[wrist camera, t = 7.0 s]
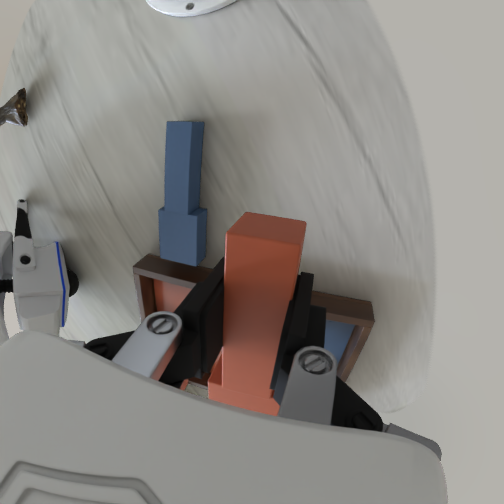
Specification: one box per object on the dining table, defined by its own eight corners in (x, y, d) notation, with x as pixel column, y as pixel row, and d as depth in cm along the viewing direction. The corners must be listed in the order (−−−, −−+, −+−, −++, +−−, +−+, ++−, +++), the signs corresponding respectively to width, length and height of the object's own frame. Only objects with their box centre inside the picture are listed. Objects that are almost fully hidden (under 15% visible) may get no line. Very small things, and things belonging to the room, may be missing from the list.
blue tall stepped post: (172, 121, 22) (158, 121, 20) (212, 122, 22) (201, 122, 20) (170, 249, 28) (159, 259, 26) (205, 256, 28) (195, 267, 25)
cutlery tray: (148, 253, 29) (132, 266, 27) (371, 301, 25) (375, 321, 22) (161, 355, 37) (151, 369, 34) (326, 398, 32) (325, 416, 30)
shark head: (13, 139, 28) (-19, 148, 22) (10, 104, 26) (-22, 110, 20) (34, 121, 26) (-3, 129, 20) (32, 83, 23) (-4, 86, 18)
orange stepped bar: (225, 208, 11) (201, 228, 9) (327, 224, 10) (328, 249, 8) (221, 400, 17) (209, 428, 14) (279, 414, 16) (272, 444, 14)
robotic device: (72, 201, 39) (-30, 198, 24) (94, 306, 29) (-51, 314, 14) (65, 245, 44) (-25, 246, 29) (87, 346, 34) (-29, 357, 19)
